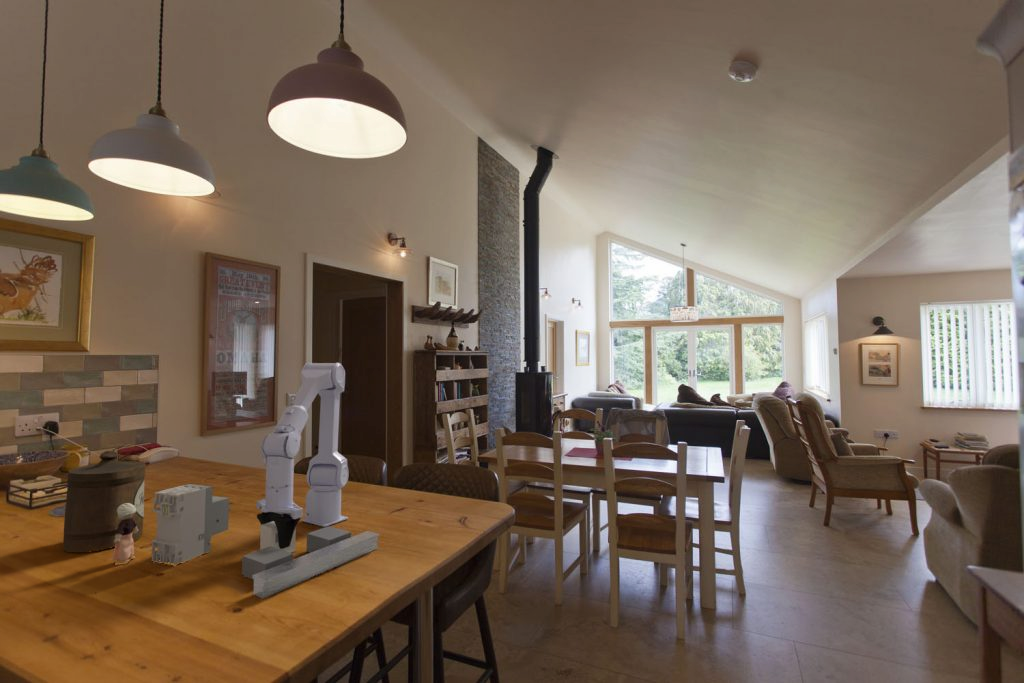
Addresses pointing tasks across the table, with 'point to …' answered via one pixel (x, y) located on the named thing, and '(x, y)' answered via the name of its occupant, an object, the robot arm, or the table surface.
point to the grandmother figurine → (125, 534)
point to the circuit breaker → (187, 522)
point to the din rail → (313, 564)
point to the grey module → (273, 537)
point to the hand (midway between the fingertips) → (278, 545)
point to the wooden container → (101, 502)
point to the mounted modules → (275, 556)
